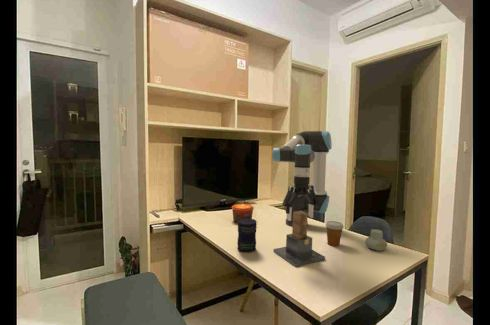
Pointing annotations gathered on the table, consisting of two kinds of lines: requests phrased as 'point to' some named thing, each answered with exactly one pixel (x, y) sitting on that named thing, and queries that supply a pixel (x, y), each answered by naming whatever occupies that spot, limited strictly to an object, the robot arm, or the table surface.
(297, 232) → the column
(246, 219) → the storage jar
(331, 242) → the disposable coffee cup
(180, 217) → the table surface
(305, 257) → the grey socket base
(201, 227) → the table surface
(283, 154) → the robot arm
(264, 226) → the table surface
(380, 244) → the air freshener
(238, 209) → the food container
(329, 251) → the table surface
